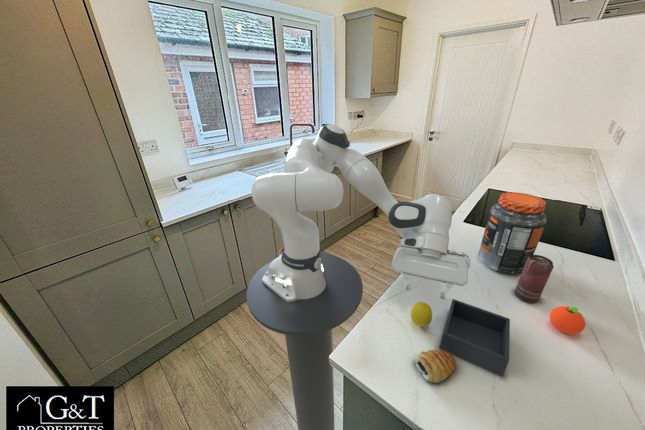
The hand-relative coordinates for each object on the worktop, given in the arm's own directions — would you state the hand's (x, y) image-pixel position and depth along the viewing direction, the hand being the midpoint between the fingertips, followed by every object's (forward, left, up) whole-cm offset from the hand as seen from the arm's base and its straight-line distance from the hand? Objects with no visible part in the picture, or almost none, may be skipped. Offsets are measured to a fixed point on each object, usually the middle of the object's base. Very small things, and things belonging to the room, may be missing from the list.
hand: (424, 294), depth 73 cm
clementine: (+34, +15, -8) cm, 38 cm away
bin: (+14, -2, -8) cm, 16 cm away
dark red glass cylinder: (+26, +24, -8) cm, 36 cm away
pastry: (+7, -15, -8) cm, 18 cm away
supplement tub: (+19, +40, -8) cm, 45 cm away
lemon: (+1, -4, -8) cm, 9 cm away
